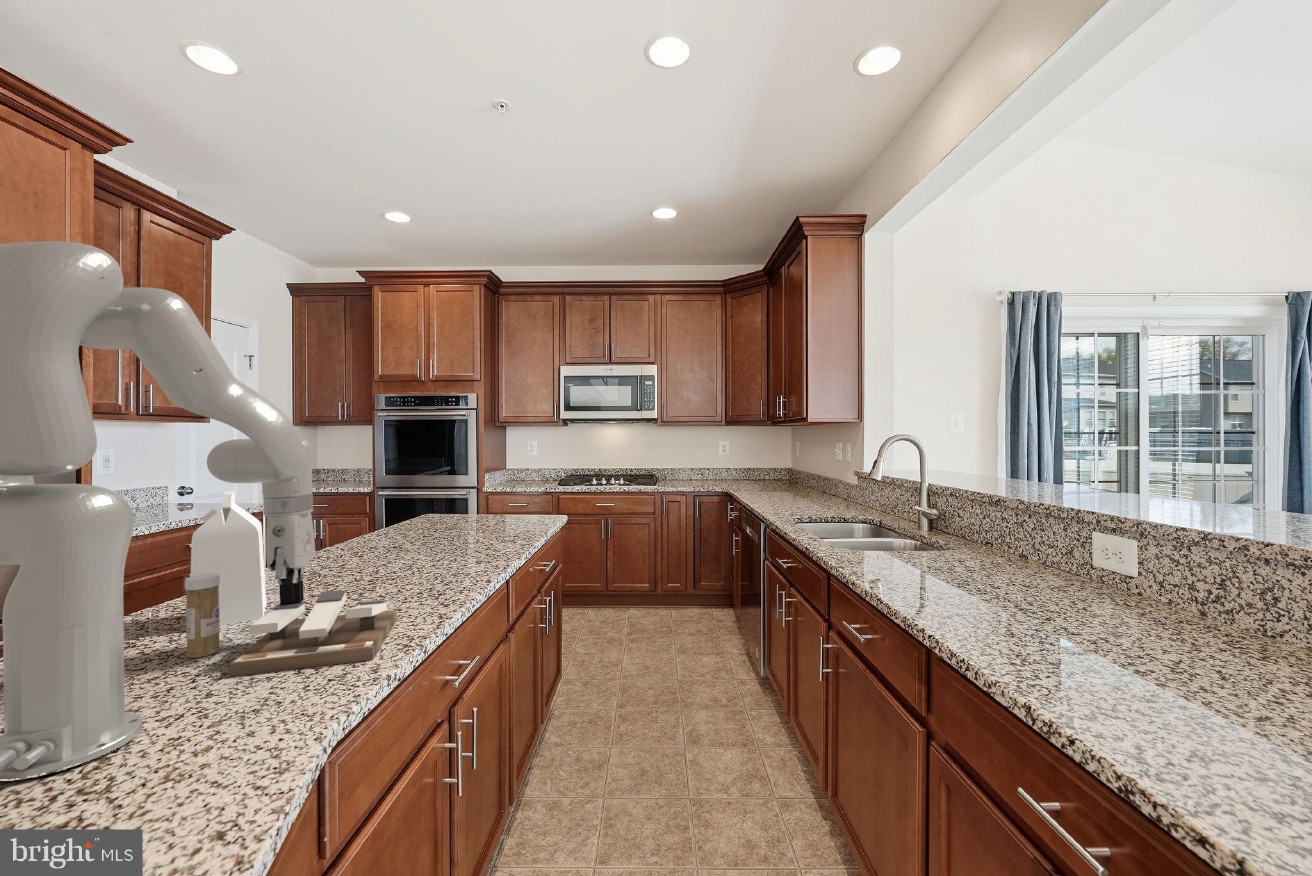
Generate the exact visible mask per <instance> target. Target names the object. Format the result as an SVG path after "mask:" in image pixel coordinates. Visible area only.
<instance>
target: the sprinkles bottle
mask: <svg viewBox="0 0 1312 876" xmlns="http://www.w3.org/2000/svg"><path fill="white" fill-rule="evenodd" d="M219 584H220V575H219V574H216V573H209V574H200V575H195V576H191V575H190V576H189V577H186V578H185V579H184V590H185V592H186V593H185V595H186V599H185V600H186V604H185V605H186V606H185V629H186V630H185V631H186V633H185V636H186V637H185V638H186V654H185V657H187V658H189V659H196V658H205V657H208V656H211V655H214V654H216V653H217V652H219V651H220V650H221V645H220V629H221V628H220V627H221V626H220V618H219V590H218V588H219Z"/></svg>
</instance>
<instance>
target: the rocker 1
mask: <svg viewBox="0 0 1312 876" xmlns="http://www.w3.org/2000/svg"><path fill="white" fill-rule="evenodd" d="M305 610H306V608H305V601H302V602H301V603H297V604H286V605H280V603H278V604H277V605H275V606H274V607H272V610H271V611H269V612H268V613H266V614H264V616H263V617H262V618H260V619H258V620H257V621H253V622H252V623H251V624H249V630H248V632H249V636H250V635H257V634H258V635H259V634H267V633H271V632H278V631H280V630H281V629H282V628H283V627H285V626H286V625H287V624H289V623H290V622H291V621H293V620H295V619H297V618H298V617H300V616H301V615H302V614H303V613H305Z"/></svg>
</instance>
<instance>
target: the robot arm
mask: <svg viewBox="0 0 1312 876" xmlns="http://www.w3.org/2000/svg"><path fill="white" fill-rule="evenodd" d="M80 346H82V347H87V348H92V349H96V350H102V351H103V350H105V351H108V350H109V351H112V350H118V351H119V350H130V351H132V352H133V353H134V354H135V356H137V358H138V359H139V360H140V362H141V363H142V364H143V366H144V367H145V368H146V371H148V372H149V374H150V375H151V376H152V378H153V379H154V382H155V381H156V383H157V385H158V386H159V388H160V389H161V391H163V393H164V395H165V396H166V397H167V399H168V400H169V401H170V402H171V403H172V404H173V405H175V406H177V407H179V408H182V409H184V410H186V411H189V412H191V413H194V414H197V415H198V416H202V417H206V418H208V419H212V420H215V421H218V422H220V423H223V424H226V425H228V426H229V427H232V428H234V429H235V430H238V431H240V433H242V434H244V435H245V436H246V437H248V438H239V439H238V438H237V439H231V440H230V439H229V440H226V441H223V442H220V443H218V444H217V445H215V446H214V447H213V448H211V450H210V451H209V453H208V455H207V459H206V466H207V469H208V471H209V473H210V474H211V475H212V476H213V477H214V478H216V479H218V480H220V481H222V482H226V483H231V484H261V485H262V510H263V513H262V515H263V516H264V517H267V520H266V521H267V524H266V543H265V544H266V565H267V569H268V570H269V571H271V572H274V571H275V572H274V578H275V580H278V585H279V587H278V588H279V604H280V605H286V604H297V603H301V602H304V599H305V598H304V595H305V594H304V580H303V579H304V566H306V565H307V564H308V563H310V562H311V561H312V560H313V559H314V558H315V556H316V544H315V543H316V542H315V531H314V522H313V516H312V512H314V500H313V498H314V497H313V496H314V494H313V472H312V471H313V470H312V469H313V468H312V465H313V464H312V446H311V443H310V442H309V441H308V440H307V439H304V438H301V436H300V434H299V432H298V431H297V429H296V427H295V425H294V424H293V422H292V421H291V419H290V418H289V417H288V416H287V415H286V414H285V413H284V412H283V410H281V409H280V408H278V407H277V406H276V404H273V403H272V401H269V400H268V399H267V398H265V397H264V396H262V395H261V394H260V393H258V392H257V391H255V390H253V389H252V388H251V387H249V386H248V385H245V384H244V383H242V382H241V381H240V380H238V378H236V377H235V375H234V374H233V372H232V371H231V370H230V369H229V367H228V365H227V363H226V362H225V360H224V358H223V357H222V355H221V354H220V352H219V350H218V348H217V347H216V346H215V344H214V343H213V341H212V339H211V338H210V336H209V335H208V332H207V331H206V329H205V328H204V327H203V324H201V322H200V321H199V319H198V317H197V316H196V314H195V312H194V311H193V309H192V307H191V306H190V304H188V303H187V301H186V300H185V299H184V298H183V297H182V296H180V295H179V294H178V293H175V292H173V291H170V290H168V289H162V288H156V287H139V286H138V287H124V274H123V271H122V268H121V266H120V265H119V263H118V261H117V260H116V259H115V258H114V257H113V256H112V255H111V254H109V253H108V252H106V251H105V250H103V249H101V248H99V247H96V246H93V245H91V244H87V243H82V242H77V241H76V242H74V241H64V240H63V241H59V240H58V241H57V240H56V241H55V240H51V241H49V240H48V241H45V240H44V241H28V242H26V241H24V242H15V243H10V242H9V243H0V565H2V566H3V565H14V566H17V565H19V568H18V571H17V573H16V576H15V577H14V580H13V581H12V583H11V585H10V587H9V588H8V589H9V590H8V592H7V594H6V597H5V599H4V603H3V606H2V607H3V609H2V620H1V623H2V626H1V627H2V643H3V644H2V647H3V648H2V650H3V652H2V657H3V659H2V663H3V664H2V665H3V727H4V728H3V731H4V732H3V733H4V734H3V735H1V736H0V779H13V778H14V779H16V778H24V777H26V776H33V775H35V774H41V773H44V772H50V771H54V770H56V769H61V768H64V767H68V766H70V765H75V764H77V763H82V762H87V761H88V760H92V759H94V758H97V757H99V756H101V757H103V756H102V755H104V756H105V754H106V755H108V754H110V753H112V752H114V751H116V750H117V748H118V749H119V748H121V747H123V746H124V745H126V744H127V743H129V742H131V741H132V740H133V739H134V738H135V737H137V735H138V734H140V732H141V731H142V729H143V718H142V716H141V715H140V714H137V713H135V712H130V711H126V710H125V709H126V708H125V707H126V703H125V701H126V699H125V698H126V697H125V696H126V695H125V692H126V691H125V688H126V687H125V619H124V617H125V614H124V611H125V609H124V581H125V580H124V579H125V568H126V561H127V557H128V552H129V549H130V548H129V547H130V544H131V540H132V537H133V531H134V525H135V520H134V519H135V516H134V513H133V512H134V511H133V510H132V507H131V505H130V504H129V503H128V501H127V500H126V499H125V498H124V497H123V496H122V495H120V494H119V493H117V492H115V491H113V490H111V489H109V488H106V487H102V486H97V485H92V484H85V483H38V484H37V483H35V480H34V477H36V476H37V477H38V476H40V477H41V476H52V475H60V474H66V473H68V472H72V471H76V470H78V469H81V468H82V467H84V466H85V465H86V464H88V463H89V462H90V461H91V460H92V459H93V458H94V456H95V454H96V451H97V446H98V439H97V433H96V430H95V424H94V420H93V416H92V411H91V408H90V404H89V399H88V397H87V393H86V387H85V383H84V380H83V375H82V370H81V365H80V358H79V357H80V356H79V347H80ZM113 750H114V751H113ZM111 751H112V752H111ZM107 753H108V754H107ZM99 758H100V757H99ZM97 759H98V758H97ZM92 761H93V760H92ZM87 763H88V762H87Z"/></svg>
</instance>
